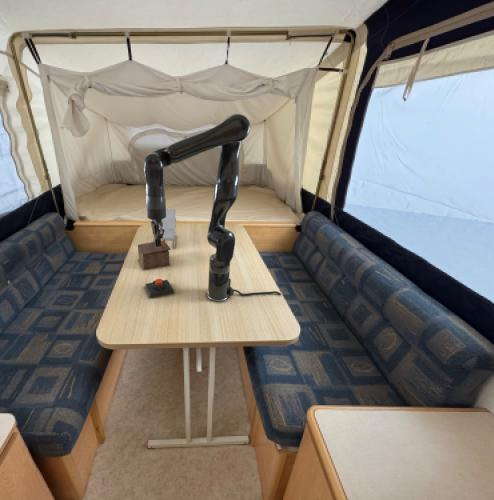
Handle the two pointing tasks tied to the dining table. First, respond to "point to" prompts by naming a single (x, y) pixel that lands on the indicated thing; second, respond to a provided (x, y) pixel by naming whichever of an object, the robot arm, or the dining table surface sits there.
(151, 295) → the control block
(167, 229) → the chair
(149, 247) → the lid
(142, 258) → the chest
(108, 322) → the dining table surface
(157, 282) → the button
